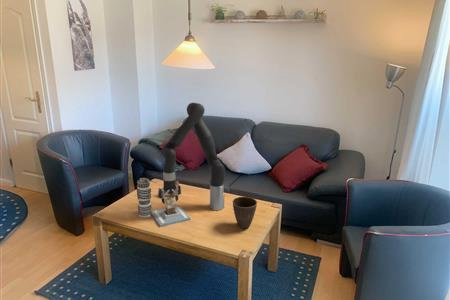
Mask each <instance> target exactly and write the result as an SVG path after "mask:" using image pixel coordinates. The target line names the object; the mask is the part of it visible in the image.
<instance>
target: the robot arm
mask: <svg viewBox="0 0 450 300" xmlns="http://www.w3.org/2000/svg"><path fill="white" fill-rule="evenodd" d="M186 113H187V115H188V116H187V118H186V120H185V121H184V122H183V123H182V124H181V125H180V126H179V127H178V128H177V129H176V131H175V132H174V133H173V135H172V137H171V138H170V139H169V141H167V142H166V144H164V146H163V147H162V148H161V151H160V152H161V156H162V157H163V158H164V159H165V162H164V163H163V165H162V169H163V170H162V172H163V173H162V174H163V175H162V181H163V182H162V183H163V185H162V186H163V187H161V188H160V187H158V192H157V193H158V194H157V196H158V198H160V199H161V203H162V204H164V205H165V197H166V196H167V195H170V193H171V194H172V193H173V192H174V193H175V194H176V195H175V198H174V199H175V202H177V201H178V200H179V195H181V194H182V189H181V185H180V184H179V185H177V186H176V183H175V181H176V178H177V177H176V171H175V170H176V168H175V164H176V159H177V153H176V151H175V149H176V148H179V147H181V145H182V143H183V142H184V141H185V139H186V138H187V136H188V134H189V133H190V132H191V130H192V129H193V128H194V131H195V134H196V136H197V140H198V142H199V145H200V148H201V150H202V151H203V154H204V156H205V158H206V160H207V162H206V163H207V166H208V169H209V172H210V173H211V175H210V177H211V179H210V180H209V209H210V210H213V211H221V210H222V209H224V208H225V194H224V188H225V187H224V186H225V185H224V182H225V177H226V167H225V165H224V164H223V162H221V161H220V159H219V157H218V154H217V152H216V143H215V139H214V137H213V135H212V132H211V130H210V129H209V128H208V126H207V125H206V123H205V122H204V119H203V117H204V115H205V107H204V106H203V104H201V103H198V102H190V103H189V104H188V105H187V106H186ZM176 188H177V190H178V192H176V191H175V189H176ZM162 191H164V192H163V194H162ZM161 194H162V196H161Z"/></svg>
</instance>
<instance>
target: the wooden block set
mask: <svg viewBox="0 0 450 300" xmlns="http://www.w3.org/2000/svg"><path fill="white" fill-rule="evenodd" d="M175 183H176V186H177V185H180V183H179V180H175ZM175 191H176V192H178V189H177V188H176V189H175ZM163 192H164V190H163V191H162V194H163ZM162 194H161V196H162ZM175 195H176V194H175V193H174V192H173V193H172V194H171V193H170V194H169V198H170V197H173V198H174V197H175Z"/></svg>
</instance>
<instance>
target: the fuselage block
mask: <svg viewBox="0 0 450 300" xmlns="http://www.w3.org/2000/svg"><path fill="white" fill-rule="evenodd" d="M164 209H166V215H171V214H176V213H175V207H174V208H169V209H168V208H167V207H166V206H165V208H164Z"/></svg>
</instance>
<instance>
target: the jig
mask: <svg viewBox="0 0 450 300" xmlns="http://www.w3.org/2000/svg"><path fill="white" fill-rule="evenodd" d="M175 213H176V214H171V215H166V209H165V208H162V209H161V208H160V209H156V210H152V213H151V216H152V217H153V218H154V220H155V221H156V223H157V224H158V226H159V227H165V226H169V225H174V224H179V223H182V222H188V221H191V217H190V215H188V213H187V212H186V211H185V210H184V209H183V208H182V206H180V205H175Z"/></svg>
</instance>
